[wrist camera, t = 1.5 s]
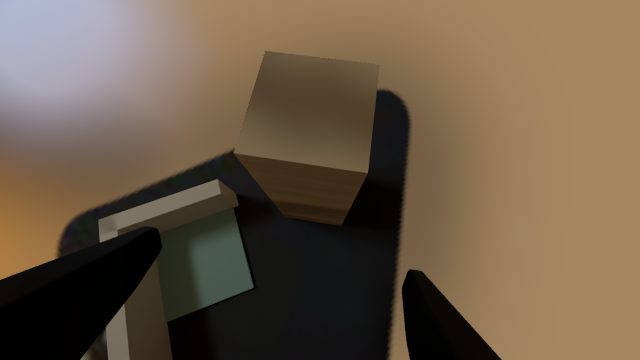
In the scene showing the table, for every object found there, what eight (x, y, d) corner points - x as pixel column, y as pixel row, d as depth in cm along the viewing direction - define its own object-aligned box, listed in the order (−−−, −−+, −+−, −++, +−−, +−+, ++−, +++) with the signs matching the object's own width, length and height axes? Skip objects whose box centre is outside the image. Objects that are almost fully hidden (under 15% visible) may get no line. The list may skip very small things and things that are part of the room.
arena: (276, 346, 18) (264, 368, 14) (160, 396, 17) (113, 434, 13) (235, 193, 22) (217, 179, 18) (138, 227, 21) (98, 219, 17)
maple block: (341, 225, 21) (367, 173, 9) (284, 216, 21) (233, 153, 9) (348, 173, 22) (379, 64, 10) (296, 165, 23) (265, 51, 11)
